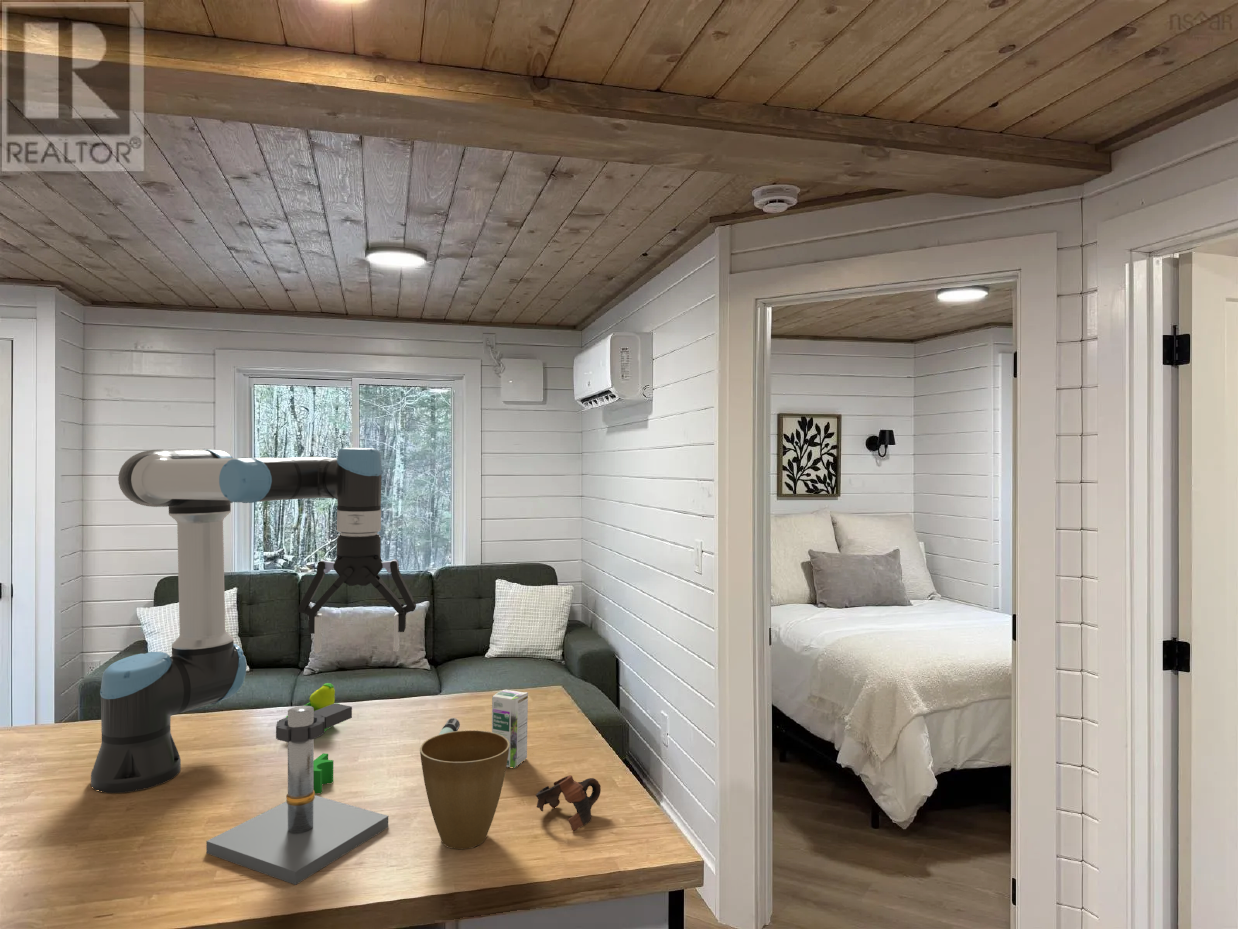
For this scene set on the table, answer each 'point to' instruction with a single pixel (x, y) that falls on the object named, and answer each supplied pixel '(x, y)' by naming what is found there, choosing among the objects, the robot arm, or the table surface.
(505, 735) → the syrup box
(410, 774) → the table surface
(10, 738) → the table surface
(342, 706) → the collar
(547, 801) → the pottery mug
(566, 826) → the table surface
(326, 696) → the fruit basket
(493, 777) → the plant pot
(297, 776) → the pipe
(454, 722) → the flashlight
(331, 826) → the pipe stand
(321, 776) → the pipe clamp
